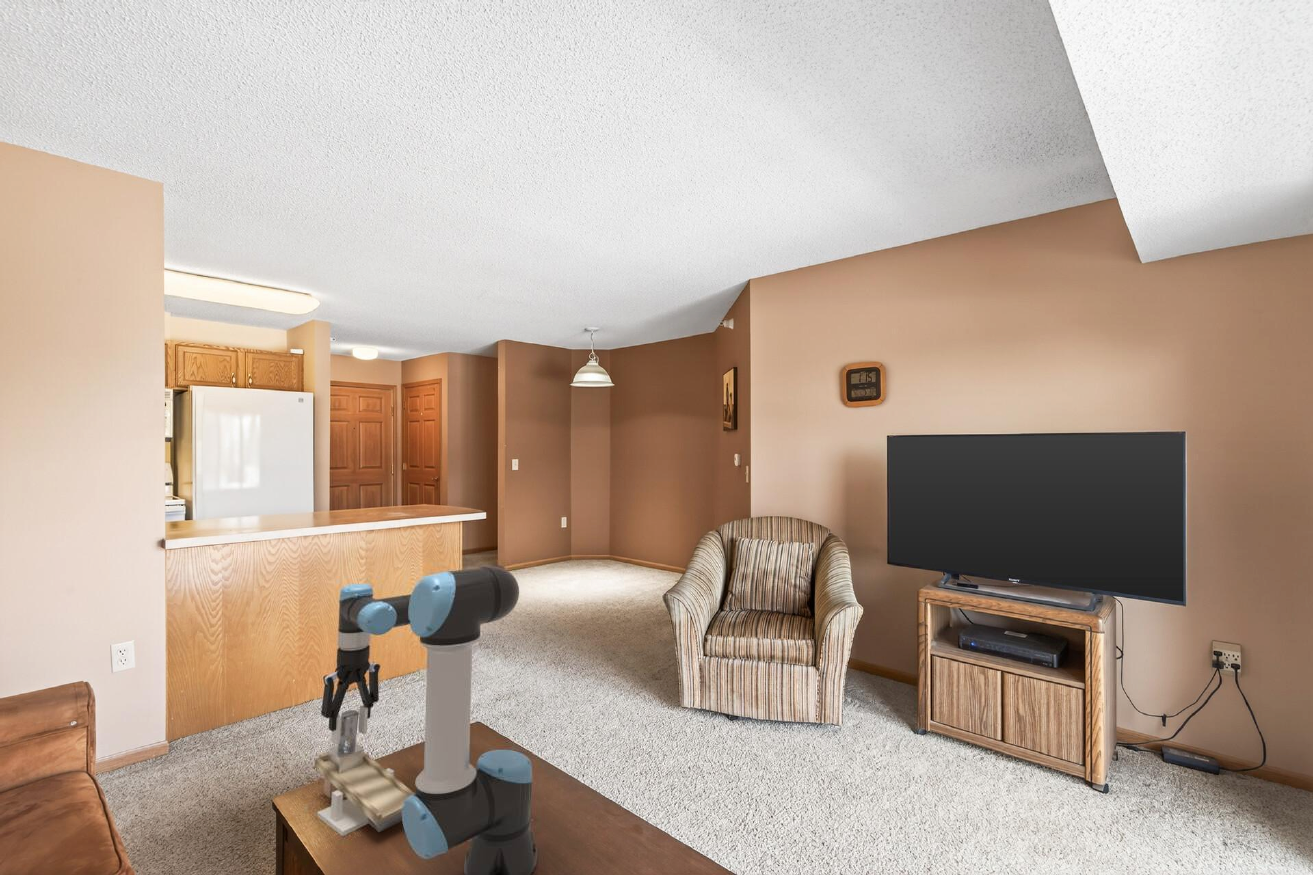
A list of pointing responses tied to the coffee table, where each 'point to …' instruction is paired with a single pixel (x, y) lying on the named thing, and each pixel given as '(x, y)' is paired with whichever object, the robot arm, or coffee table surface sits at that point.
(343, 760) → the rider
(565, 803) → the coffee table surface
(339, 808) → the stand
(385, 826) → the beam
